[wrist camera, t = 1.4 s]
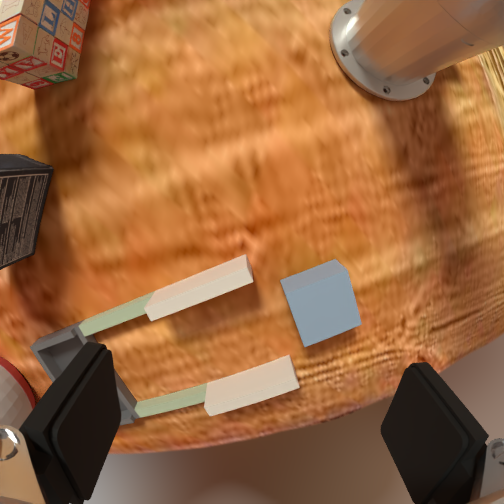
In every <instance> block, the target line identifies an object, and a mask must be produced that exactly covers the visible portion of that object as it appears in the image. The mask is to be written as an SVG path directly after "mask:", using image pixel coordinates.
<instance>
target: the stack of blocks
mask: <svg viewBox="0 0 504 504" xmlns="http://www.w3.org/2000/svg"><path fill="white" fill-rule="evenodd" d="M90 2H91V0H0V79H1V80H7V81H10V82H14V83H17V84H20V85H22V86H25V87H29V88H31V89H38V88H41V87H45V86H48V85H52V84H55V83H59V82H63V81H67V80H71V79H76V78H77V73H78V66H79V59H80V54H81V50H82V44H83V39H84V33H85V28H86V24H87V19H88V14H89V7H90Z"/></svg>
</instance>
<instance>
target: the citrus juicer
mask: <svg viewBox="0 0 504 504" xmlns="http://www.w3.org/2000/svg"><path fill="white" fill-rule="evenodd" d="M34 407H35V399H34V395H33V393H32V391H31V389H30V387H29V385H28V383H27V382H26V380H25V379H24V378H23V376H22V375H21V374H20V373H19V372H18V370H17V369H16V368H15V367H14V366H13V365H12V364H10V363H9V362H8V361H7V360H5V359H3V358H2V357H0V425H8V426H12V427H14V428H16V429H18V430H19V428H20V427H21V425H22V424H23V423H24V421H25V420H26V418H27V417H28V416H29V414H30V413H31V411H32V410H33V409H34Z"/></svg>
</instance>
